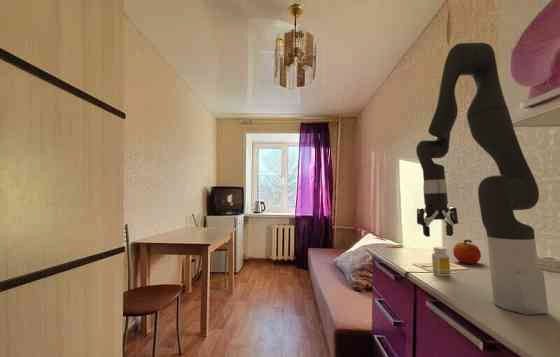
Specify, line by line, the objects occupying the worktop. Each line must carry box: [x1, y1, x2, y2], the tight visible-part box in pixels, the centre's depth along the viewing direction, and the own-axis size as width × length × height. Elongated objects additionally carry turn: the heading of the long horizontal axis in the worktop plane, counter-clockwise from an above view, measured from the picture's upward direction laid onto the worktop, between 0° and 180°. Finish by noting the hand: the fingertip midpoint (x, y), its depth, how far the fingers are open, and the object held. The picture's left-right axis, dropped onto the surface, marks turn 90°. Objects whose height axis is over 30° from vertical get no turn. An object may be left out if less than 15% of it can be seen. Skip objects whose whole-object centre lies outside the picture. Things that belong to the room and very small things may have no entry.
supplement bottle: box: [431, 246, 451, 277], centre depth 93 cm, size 5×5×10 cm
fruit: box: [453, 239, 482, 265], centre depth 109 cm, size 10×10×10 cm
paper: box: [412, 262, 470, 272], centre depth 103 cm, size 11×16×1 cm
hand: (438, 236), depth 94 cm, fingers open, 8 cm apart
